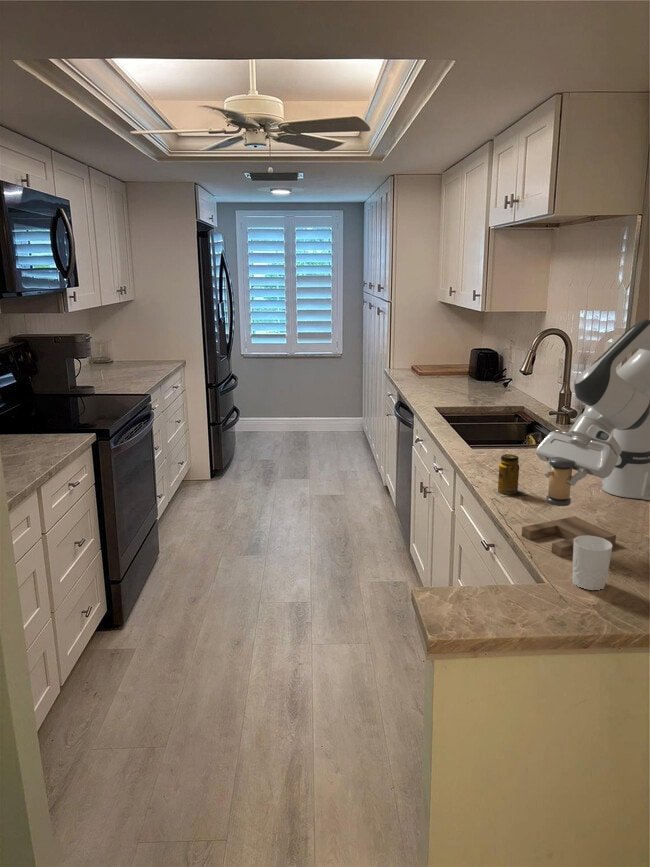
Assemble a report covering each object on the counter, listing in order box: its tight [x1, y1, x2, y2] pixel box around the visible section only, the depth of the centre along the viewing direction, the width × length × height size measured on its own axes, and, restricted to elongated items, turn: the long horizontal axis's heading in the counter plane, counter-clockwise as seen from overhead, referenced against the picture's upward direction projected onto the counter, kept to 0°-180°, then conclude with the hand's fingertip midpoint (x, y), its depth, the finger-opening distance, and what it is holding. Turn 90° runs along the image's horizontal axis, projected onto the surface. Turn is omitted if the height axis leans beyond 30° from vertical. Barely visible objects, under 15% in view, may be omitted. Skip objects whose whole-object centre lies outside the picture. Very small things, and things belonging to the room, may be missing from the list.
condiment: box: [493, 453, 528, 497], centre depth 196 cm, size 7×8×12 cm
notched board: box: [521, 515, 617, 558], centre depth 162 cm, size 18×14×2 cm
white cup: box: [571, 536, 614, 591], centre depth 138 cm, size 8×8×10 cm
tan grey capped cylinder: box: [545, 457, 574, 507], centre depth 156 cm, size 7×6×11 cm
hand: (558, 480), depth 156 cm, fingers closed on tan grey capped cylinder, 5 cm apart
